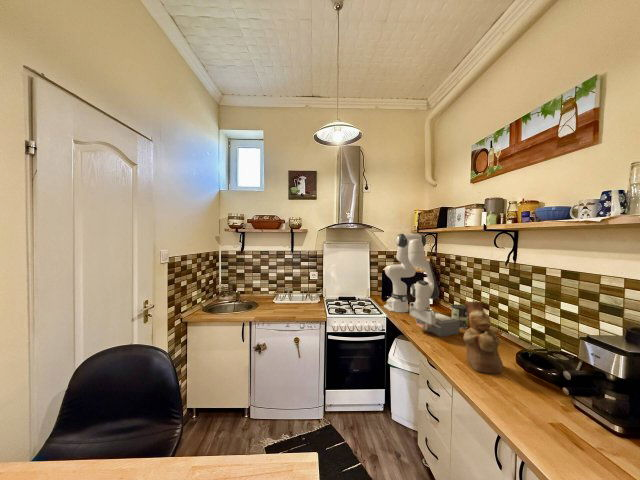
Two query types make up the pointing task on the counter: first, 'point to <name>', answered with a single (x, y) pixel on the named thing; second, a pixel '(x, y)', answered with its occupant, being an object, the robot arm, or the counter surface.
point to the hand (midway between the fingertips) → (421, 326)
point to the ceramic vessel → (481, 341)
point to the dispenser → (444, 325)
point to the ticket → (423, 325)
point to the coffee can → (460, 315)
